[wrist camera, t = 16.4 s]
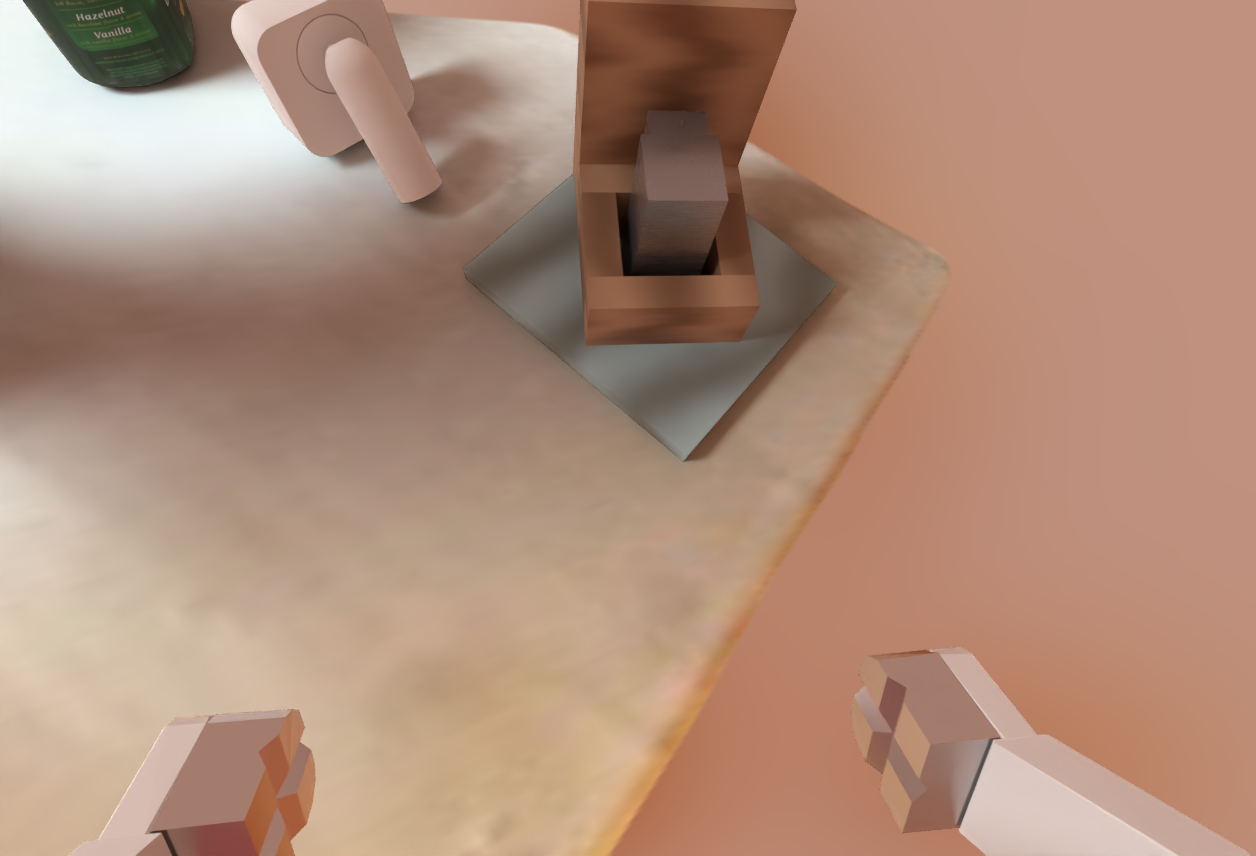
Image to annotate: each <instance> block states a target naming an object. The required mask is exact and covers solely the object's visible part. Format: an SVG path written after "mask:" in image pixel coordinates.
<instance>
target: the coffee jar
mask: <svg viewBox="0 0 1256 856" xmlns="http://www.w3.org/2000/svg"><path fill="white" fill-rule="evenodd" d="M23 2H24V3H25V4H26V6H27V7H28V8H29V10H30V11H31V12H32V14H33V15H34V16H35V18H36V19H37V20H38V22H39V23H40V24H41V26H42V27H43V28H44V30H45V31H46V33H47V34H48V35H49V37H50V38H51V39H52V41H53V42H54V43H55V44H56V46H57V47H58V48H59V50H60V51H61V52H62V54H63V55H64V56H65V57H66V59H67V60H68V61H69V63H70V64H71V65H72V66H73V68H74V69H75V70H76V71H77V72H78V73H79V74H80V75H81V76H82V77H84V78H85V79H87V80H88V81H90V82H93V83H95V84H99V85H103V86H117V87H133V86H145V85H149V84H153V83H157V82H160V81H163V80H164V79H166V78H169V77H171V76H173V75H175V74H177V73H179V72H180V71H182V70H183V69H184V68H186V67H187V66H189V64H190V63H191V61H192V59H193V56H194V33H193V26H192V21H191V16H190V13H189V10H188V7H187V4H186V2H185V0H23Z"/></svg>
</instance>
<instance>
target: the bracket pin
mask: <svg viewBox="0 0 1256 856" xmlns="http://www.w3.org/2000/svg"><path fill="white" fill-rule="evenodd" d="M727 203H728V194H727V188H726V181H725V175H724V168H723V162H722V155H721V149H720V142H719V136H718V135H709V133H708V126H707V119H706V112H705V111H657V110H648V113H647V119H646V124H645V130H644V134H641V135H640V141H639V147H638V153H637V159H636V165H635V171H634V177H633V183H632V189H631V195H630V201H629V207H628V212H627V218H626V224H625V230H624V236H623V242H622V248H621V251H622V263H623V274H624V276H700V273H701V271H702V268H703V266H704V263H705V260H706V258H707V255H708V253H709V250H710V247H711V245H712V242H713V240H714V237H715V234H716V232H717V229H718V227H719V224H720V221H721V219H722V216H723V214H724V211H725V208H726V206H727Z"/></svg>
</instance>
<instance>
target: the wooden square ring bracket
mask: <svg viewBox="0 0 1256 856" xmlns="http://www.w3.org/2000/svg"><path fill="white" fill-rule="evenodd" d="M795 13H796V5H795V0H580V20H579V21H580V22H579V44H578V68H577V91H576V115H575V138H574V162H573V174H572V175H571V176H570V177H569V178H568V179H566V180H565V181H564V182H563V183H562V184H561V185H559V186H558V187H557V188H556V189H555V190H554V191H552V192H551V193H550V194H549V195H548V196H547V197H545V198H544V199H543V200H542V201H541V202H540V203H538V204H537V205H536V206H535V207H534V208H533V209H531V210H530V211H529V212H528V213H527V214H526V215H524V216H523V217H522V218H521V219H520V220H519V221H517V222H516V223H515V224H514V225H513V226H512V227H510V228H509V229H508V230H507V231H506V232H505V233H503V234H502V235H501V236H500V237H499V238H498V239H497V240H495V241H494V242H493V243H492V244H491V245H490V246H488V247H487V248H486V249H485V250H484V251H483V252H481V253H480V254H479V255H478V256H477V257H476V258H474V259H473V260H472V261H471V262H470V263H469V264H467V265H466V266H465V267H464V273H465V277H466V279H467V280H468V281H470V282H471V283H472V284H473V285H474V286H475V287H477V288H478V289H479V290H480V291H481V292H483V293H484V294H485V295H486V296H487V297H489V298H490V299H491V300H492V301H493V302H494V303H496V304H497V305H498V306H499V307H500V308H502V309H503V310H504V311H505V312H506V313H508V314H509V315H510V316H511V317H512V318H513V319H515V320H516V321H517V322H518V323H519V324H521V325H522V326H523V327H524V328H525V329H527V330H528V331H529V332H530V333H531V334H533V335H534V336H535V337H536V338H537V339H538V340H540V341H541V342H542V343H543V344H544V345H546V346H547V347H548V348H549V349H550V350H552V351H553V352H554V353H555V354H556V355H557V356H559V357H560V358H561V359H562V360H563V361H565V362H566V363H567V364H568V365H569V366H571V367H572V368H573V369H574V370H575V371H576V372H578V373H579V374H580V375H581V376H582V377H584V378H585V379H586V380H587V381H588V382H590V383H591V384H592V385H593V386H594V387H595V388H597V389H598V390H599V391H600V392H601V393H603V394H604V395H605V396H606V397H607V398H609V399H610V400H611V401H612V402H613V403H614V404H616V405H617V406H618V407H619V408H620V409H622V410H623V411H624V412H625V413H626V414H628V415H629V416H630V417H631V418H632V419H634V420H635V421H636V422H637V423H638V424H639V425H641V426H642V427H643V428H644V429H645V430H647V431H648V432H649V433H650V434H651V435H653V436H654V437H655V438H656V439H657V440H658V441H660V442H661V443H662V444H663V445H664V446H666V447H667V448H668V449H669V450H670V451H672V452H673V453H674V454H675V455H676V456H677V457H679V458H680V459H681V460H682V461H683V462H684V460H685V459H686V458H687V457H688V456H689V455H690V453H691V452H692V451H693V450H694V449H695V448H696V447H697V445H698V444H699V443H700V442H701V441H702V440H703V439H704V437H705V436H706V435H707V434H708V433H709V432H710V430H711V429H712V428H713V427H714V426H715V425H716V424H717V422H718V421H719V420H720V419H721V418H722V417H723V415H724V414H725V413H726V412H727V411H728V410H729V409H730V407H731V406H732V405H733V404H734V403H735V402H736V401H737V399H738V398H739V397H740V396H741V395H742V394H743V392H744V391H745V390H746V389H747V388H748V387H749V386H750V384H751V383H752V382H753V381H754V380H755V379H756V377H757V376H758V375H759V374H760V373H761V372H762V371H763V369H764V368H765V367H766V366H767V365H768V364H769V362H770V361H771V360H772V359H773V358H774V357H775V356H776V354H777V353H778V352H779V351H780V350H781V349H782V348H783V346H784V345H785V344H786V343H787V342H788V341H789V339H790V338H791V337H792V336H793V335H794V334H795V333H796V331H797V330H798V329H799V328H800V327H801V326H802V324H803V323H804V322H805V321H806V320H807V319H808V318H809V316H810V315H811V314H812V313H813V312H814V311H815V310H816V308H817V307H818V306H819V305H820V304H821V303H822V301H823V300H824V299H825V298H826V297H827V296H828V295H829V293H830V292H831V291H832V290H833V288H834V287H835V286H836V284H837V282H835V281H834V280H833V279H831V278H830V277H829V276H828V275H826V274H825V273H824V272H822V271H821V270H820V269H818V268H817V267H816V266H814V265H813V264H812V263H811V262H809V261H808V260H807V259H805V258H804V257H803V256H801V255H800V254H799V253H797V252H796V251H795V250H793V249H792V248H791V247H790V246H788V245H787V244H786V243H784V242H783V241H782V240H780V239H779V238H778V237H776V236H775V235H774V234H773V233H771V232H770V231H769V230H767V229H766V228H765V227H763V226H762V225H761V224H759V223H758V222H757V221H755V220H754V219H753V218H752V217H750V216H749V215H748V214H746V213H745V207H744V201H743V195H742V189H741V182H740V176H739V170H738V164H739V161H740V159H741V156H742V153H743V151H744V148H745V145H746V143H747V140H748V137H749V134H750V132H751V129H752V126H753V124H754V121H755V119H756V116H757V113H758V111H759V108H760V105H761V103H762V100H763V97H764V95H765V92H766V90H767V87H768V84H769V82H770V79H771V76H772V73H773V71H774V68H775V65H776V63H777V60H778V58H779V55H780V52H781V50H782V47H783V44H784V42H785V39H786V36H787V34H788V31H789V28H790V26H791V23H792V21H793V18H794V15H795ZM648 110H657V111H705V112H706V119H707V126H708V133H709V135H718V136H719V142H720V149H721V155H722V162H723V168H724V175H725V181H726V188H727V194H728V203H727V206H726V208H725V211H724V214H723V216H722V219H721V221H720V224H719V227H718V229H717V232H716V234H715V237H714V240H713V242H712V245H711V247H710V250H709V253H708V255H707V258H706V260H705V263H704V266H703V268H702V271H701V273H700V276H624V274H623V263H622V251H621V248H622V242H623V236H624V230H625V224H626V218H627V212H628V207H629V201H630V195H631V189H632V183H633V177H634V171H635V165H636V159H637V153H638V147H639V141H640V135H641V134H644V130H645V124H646V119H647V113H648Z"/></svg>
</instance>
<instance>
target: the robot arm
mask: <svg viewBox="0 0 1256 856" xmlns="http://www.w3.org/2000/svg"><path fill="white" fill-rule="evenodd" d="M859 676H860V678H861V679H862V681H863V683H864V685H865V686H864V687H863V688H862V689H861V690H860V691H859V692H858V693H856V694H855V696H854V698H853V703H852V708H851V719H852V728H853V733H854V736H855V739H856V742H857V746H858V748H859V750H860V752H861V754H862V756H863V758H864V760H865V762H867V763H868V764H870V765H871V766H872V767H873V768H875V769H876V770H877V771H879V772H880V773H881V774H882V778H881V784H880V791H881V793H882V795H883V797H884V799H885V801H886V803H887V805H888V807H889V809H890V811H891V813H892V815H893V816H894V818H895V820H896V822H897V824H898V826H899V828H900V830H901V832H902V833H910V832H921V831H931V830H942V829H952V828H960V829H959V832H960V833H961V834H962V835H964V836H965V837H966V838H967V839H968V840H969V841H970V842H972V843H973V844H974V845H975V846H976V847H977V848H978V849H980V850H981V851H982V852H983V853H984V854H985V855H986V856H1251V855H1250V854H1249V853H1248V852H1247V851H1246V850H1244V849H1242V848H1240V847H1239V846H1237V845H1235V844H1234V843H1232V842H1230V841H1229V840H1227V839H1225V838H1224V837H1222V836H1220V835H1218V834H1217V833H1215V832H1213V831H1211V830H1210V829H1208V828H1206V827H1205V826H1203V825H1201V824H1200V823H1198V822H1196V821H1195V820H1193V819H1191V818H1189V817H1188V816H1186V815H1184V814H1182V813H1181V812H1179V811H1177V810H1176V809H1174V808H1172V807H1171V806H1169V805H1167V804H1166V803H1164V802H1162V801H1160V800H1158V799H1157V798H1155V797H1154V796H1152V795H1150V794H1148V793H1147V792H1145V791H1143V790H1142V789H1140V788H1138V787H1137V786H1135V785H1133V784H1131V783H1130V782H1128V781H1126V780H1125V779H1123V778H1121V777H1119V776H1118V775H1116V774H1114V773H1113V772H1111V771H1109V770H1107V769H1106V768H1104V767H1102V766H1101V765H1099V764H1097V763H1096V762H1094V761H1092V760H1090V759H1089V758H1087V757H1085V756H1084V755H1082V754H1080V753H1079V752H1077V751H1075V750H1073V749H1072V748H1070V747H1068V746H1067V745H1065V744H1063V743H1061V742H1060V741H1058V740H1056V739H1055V738H1053V737H1051V736H1049V735H1048V734H1043V735H1037V734H1036V732H1035V731H1034V730H1033V729H1032V727H1031V726H1030V725H1029V724H1028V723H1027V721H1026V720H1025V719H1024V718H1023V716H1022V715H1021V714H1020V713H1019V711H1018V710H1017V709H1016V708H1015V707H1014V705H1013V704H1012V703H1011V702H1010V700H1009V699H1008V698H1007V697H1006V695H1005V694H1004V693H1003V692H1002V690H1001V689H1000V688H999V687H998V686H997V684H996V683H995V682H994V680H993V679H992V678H991V677H990V676H989V674H988V673H987V672H986V671H985V669H984V668H983V667H982V666H981V664H980V663H979V662H978V661H977V659H976V658H975V657H974V656H973V655H972V653H971V652H970V651H968V650H966V649H965V648H963V647H953V648H943V649H933V650H929V651H928V650H919V651H911V652H901V653H891V654H881V655H872V656H867V657H866V658H865V659H864V661H863V662H862V664H861V668H860V672H859ZM304 728H305V727H304V724H303V721H302V718H301V715H300V712H299V710H294V709H288V710H273V711H257V712H242V713H227V714H216V715H205V716H191V717H177V718H174V719H173V720H172V721H171V722H170V723H169V724H168V725H166V726H165V727H164V728H163V730H162V731H161V733H160V735H159V736H158V738H157V740H156V742H155V743H154V745H153V747H152V748H151V750H150V752H149V753H148V755H147V757H146V759H145V760H144V762H143V764H142V765H141V767H140V769H139V771H138V772H137V774H136V776H135V777H134V779H133V781H132V782H131V784H130V786H129V788H128V789H127V791H126V793H125V794H124V796H123V798H122V800H121V801H120V803H119V805H118V806H117V808H116V810H115V811H114V813H113V815H112V817H111V818H110V820H109V822H108V823H107V825H106V827H105V829H104V830H103V832H102V834H101V835H100V837H99V839H95V840H88V841H84V842H83V843H82V844H80V845H79V846H78V847H77V848H75V849H74V850H73V851H72V852H70V853H69V854H68V855H67V856H295V854H294V851H293V848H292V845H291V842H290V841H291V840H292V839H293V838H294V837H295V836H296V834H297V833H298V832H299V831H300V830H301V829H302V828H303V827H304V826H305V825H306V824H307V820H308V817H309V813H310V810H311V806H312V803H313V795H314V787H315V764H314V759H313V755H312V751H311V749H309V748H308V747H306V746H305V745H303V744H302V743H300V739H301V736H302V734H303V731H304Z"/></svg>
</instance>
